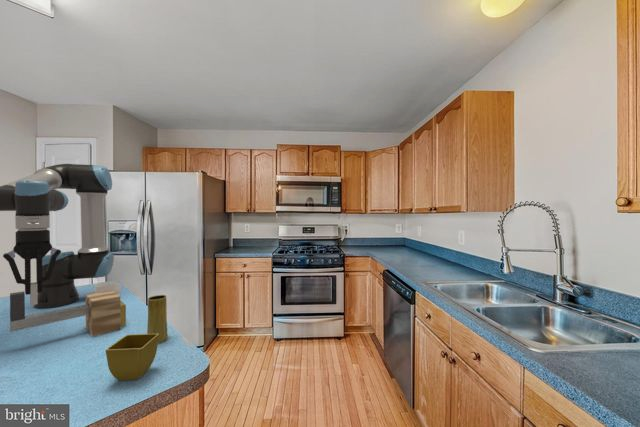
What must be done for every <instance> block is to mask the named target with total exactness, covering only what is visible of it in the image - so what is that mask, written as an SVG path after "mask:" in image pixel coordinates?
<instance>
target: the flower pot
mask: <svg viewBox="0 0 640 427" xmlns="http://www.w3.org/2000/svg"><path fill="white" fill-rule="evenodd" d="M158 338H159V334H147V333H139V334H138V333H136V334H126V335H124V336H123V337H121V338H120V339H118V340H117V341H115V342H114V343H113V344H112V345H110V346H108V347H107V348H106V349H105V355H106V362H107V367H108V370H109V372H110V374H111V375H112V376H113V378H114V379H115V380H117V381H119V382H122V381H138V380H140V379H141V378H142V377H143V376H144V375H145V373H146V372H148V371H149V369H150V368H151V366H152V365H153V362H154V360H155V358H156V356H157V351H158V344H159V343H158Z"/></svg>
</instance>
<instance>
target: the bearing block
mask: <svg viewBox="0 0 640 427" xmlns="http://www.w3.org/2000/svg"><path fill="white" fill-rule="evenodd" d="M120 301H121V295H120V296H119V295H118V294H117V293H116V292H114V291H113V290H109V291H103V292H98V293H94V292H92V293H87V294H85V305H86V304H89V305H90V315H85V328H86V329H87V331H88V332H89V334H90V335H91V337H92V338H93V337H97V336H102V335H105V334H107V333H111V332H115V331H119V330H121V328H122V327H121V316H120Z"/></svg>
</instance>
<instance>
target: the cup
mask: <svg viewBox="0 0 640 427" xmlns="http://www.w3.org/2000/svg"><path fill="white" fill-rule="evenodd" d="M93 287H94V289H93V293H98V292H103V291H109V290H113V291H114V292H116V293H117V294H118V295H119V296H120V297H121V291H122V287H121V281H120V280H119V281H118V280H110V281H109V280H108V281H103V282H99V283H96V284H94V286H93Z"/></svg>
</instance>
